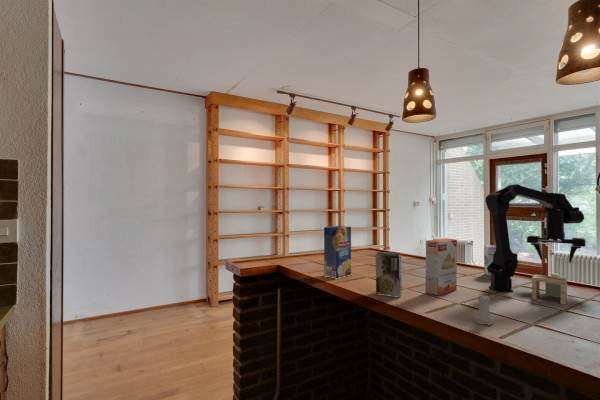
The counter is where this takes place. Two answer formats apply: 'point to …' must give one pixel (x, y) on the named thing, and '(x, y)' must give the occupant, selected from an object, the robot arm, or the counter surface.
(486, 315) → the rook chess piece
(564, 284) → the shelf lane
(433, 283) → the cracker box
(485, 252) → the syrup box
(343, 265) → the blue food box
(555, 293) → the tethered block
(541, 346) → the counter surface
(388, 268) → the coffee box
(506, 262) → the robot arm
